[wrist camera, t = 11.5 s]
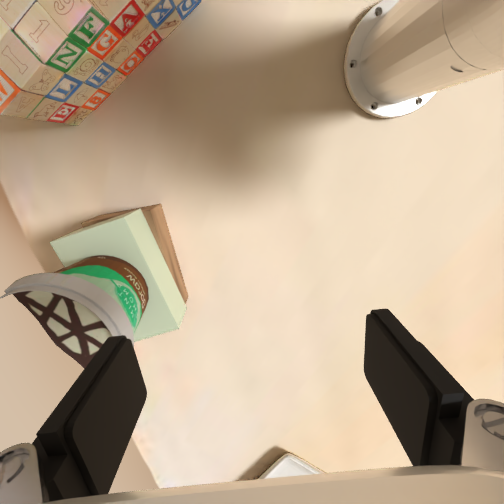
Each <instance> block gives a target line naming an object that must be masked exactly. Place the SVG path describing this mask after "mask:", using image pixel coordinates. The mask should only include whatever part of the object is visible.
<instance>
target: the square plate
mask: <svg viewBox="0 0 504 504" xmlns="http://www.w3.org/2000/svg"><path fill="white" fill-rule="evenodd" d="M322 473H325V472H323V471H321V470H320V469H318V468H316V467H315V466H313V465H311V464H310V463H308V462H306V461H305V460H303V459H301V458H299V457H297V456H295V455H293V454H290V453H287V454H285V455H283V456H282V457H281V458H279V459H278V460H277V461H276V462H275V463H274V464H273V465H272V466H271V467H270V468H269V469H268V470H267V471H266V472H265V473H263V474H262V475H261V476H260V477H259V478H258V479H266V478H277V477H288V476H299V475H311V474H322Z"/></svg>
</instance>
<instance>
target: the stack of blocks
mask: <svg viewBox="0 0 504 504" xmlns="http://www.w3.org/2000/svg"><path fill="white" fill-rule="evenodd" d="M200 2H201V0H0V114H1V115H8V116H15V117H23V118H26V119H33V120H39V121H50V122H58V123H64V124H68V125H79V124H80V123H81V122H82V121H83V120H84V119H85V118H86V117H87V116H88V115H89V114H90V113H91V112H92V111H93V110H95V109H96V108H97V107H98V106H99V105H100V104H101V103H102V102H103V101H104V100H105V99H106V98H107V97H108V96H109V95H110V94H111V93H112V92H113V91H114V90H115V89H116V88H117V87H118V86H119V85H120V84H121V83H122V82H123V81H124V80H125V79H126V78H127V76H128V74H130V73H131V72H132V71H133V69H134V68H136V67H137V66H138V65H139V64H140V63H141V62H142V61H143V60H144V57H146V56H147V55H148V54H149V53H150V52H151V51H152V50H153V49H154V48H155V47H156V46H157V45H158V44H159V43H160V42H161V40H162V39H163V40H164V39H165V38H166V37H167V36H168V35H169V34H170V33H171V32H172V31H173V30H174V29H175V28H176V27H177V26H178V25H179V24H180V23H181V22H182V20H183V19H185V18H186V17H187V16H188V15H189V14H190V13H191V12H192V11H193V10H194V9H195V8H196V6H197V5H198V4H199V3H200Z"/></svg>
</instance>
